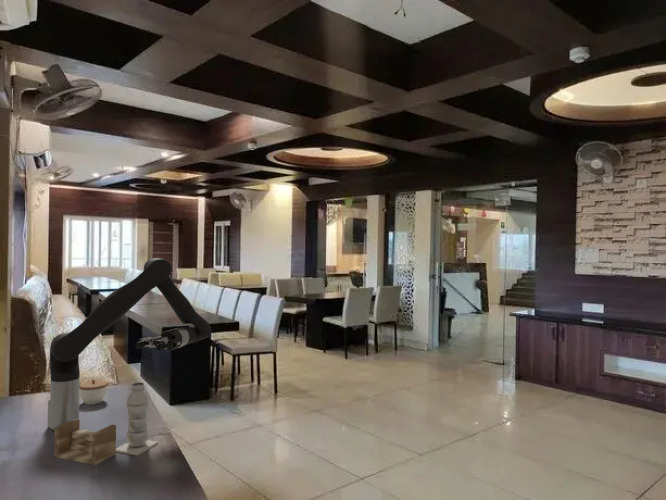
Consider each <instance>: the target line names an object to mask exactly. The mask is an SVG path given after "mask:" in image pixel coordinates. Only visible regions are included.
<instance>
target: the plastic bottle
mask: <svg viewBox="0 0 666 500" xmlns="http://www.w3.org/2000/svg"><path fill="white" fill-rule="evenodd" d="M131 391H132V392H131V393H130V394H129V396H128V397H127V400H126V406H127V413H128V415H127V417H128V425H127V426H128V427H127V432H126V438H125V439H126V443H127V444H128V445H129V446H131V447H139V446H143V445H145V444H146V442H147V440H149V439H148V438H149V433H148V427H147V413H148V412H147V411H148V410H147V409H148V404H149V398H148V396H147V394H146V393H145V383H143V382H135V383H132V384H131Z"/></svg>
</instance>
